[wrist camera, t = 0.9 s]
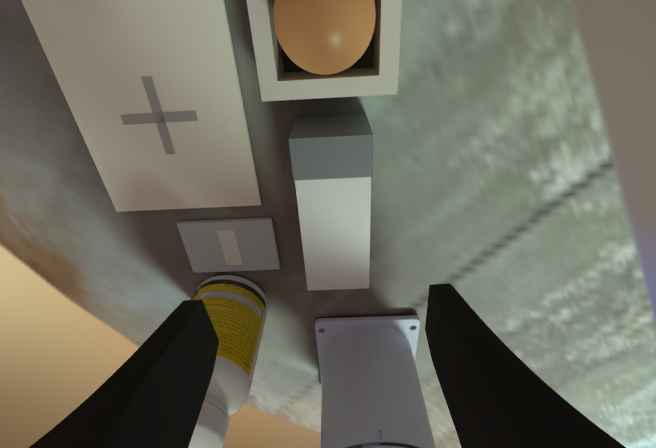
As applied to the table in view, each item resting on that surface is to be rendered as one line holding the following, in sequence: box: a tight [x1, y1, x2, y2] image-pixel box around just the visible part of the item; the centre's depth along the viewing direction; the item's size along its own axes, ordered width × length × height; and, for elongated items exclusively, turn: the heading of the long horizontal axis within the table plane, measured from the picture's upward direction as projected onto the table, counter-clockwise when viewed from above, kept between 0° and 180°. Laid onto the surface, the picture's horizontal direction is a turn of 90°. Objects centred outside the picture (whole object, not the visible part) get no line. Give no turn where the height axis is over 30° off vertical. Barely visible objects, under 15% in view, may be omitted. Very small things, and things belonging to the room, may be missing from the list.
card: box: [177, 217, 280, 273], centre depth 22 cm, size 4×6×1 cm, turn 93°
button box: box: [247, 0, 402, 102], centre depth 14 cm, size 6×6×2 cm
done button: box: [273, 0, 376, 75], centre depth 13 cm, size 4×4×3 cm
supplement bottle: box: [188, 275, 268, 448], centre depth 21 cm, size 5×5×10 cm
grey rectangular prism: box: [288, 113, 373, 290], centre depth 19 cm, size 9×4×4 cm, turn 3°
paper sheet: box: [21, 0, 262, 212], centre depth 18 cm, size 11×9×1 cm
